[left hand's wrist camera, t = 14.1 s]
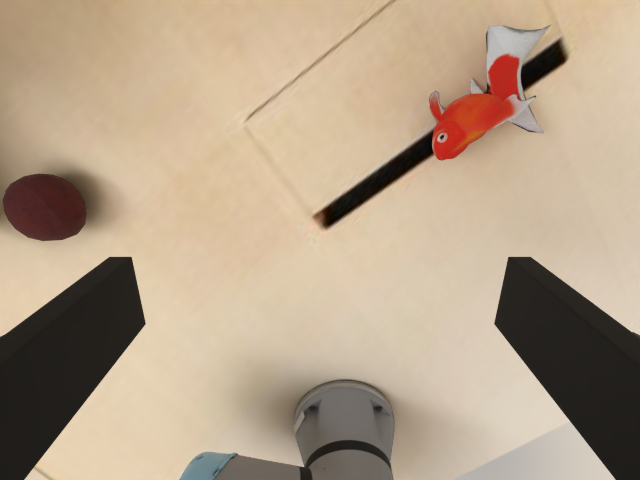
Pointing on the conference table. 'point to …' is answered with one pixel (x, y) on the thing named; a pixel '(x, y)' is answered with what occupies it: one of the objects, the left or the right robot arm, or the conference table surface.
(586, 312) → the left robot arm
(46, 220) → the dark maroon ball
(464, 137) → the fish
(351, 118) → the conference table surface
